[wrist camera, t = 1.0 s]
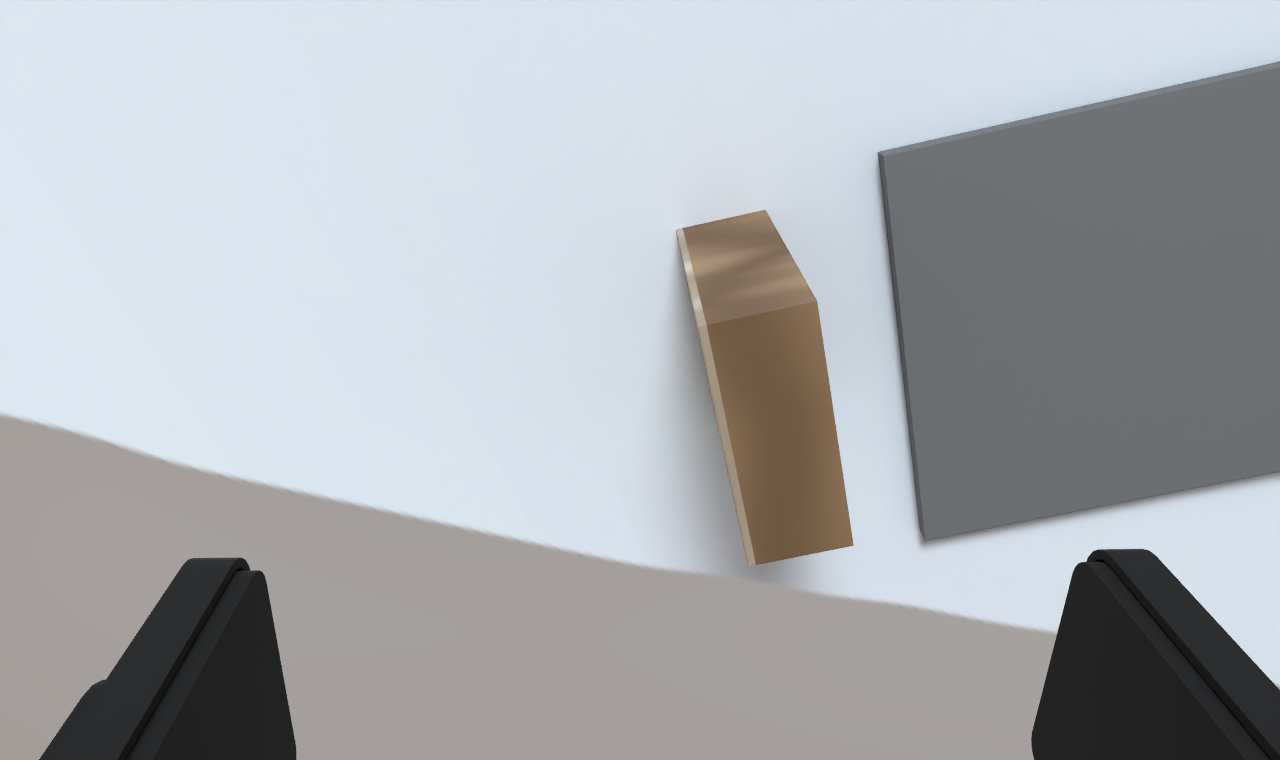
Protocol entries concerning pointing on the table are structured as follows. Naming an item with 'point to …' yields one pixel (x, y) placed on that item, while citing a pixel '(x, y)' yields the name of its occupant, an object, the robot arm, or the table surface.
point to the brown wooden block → (767, 387)
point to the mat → (1090, 302)
